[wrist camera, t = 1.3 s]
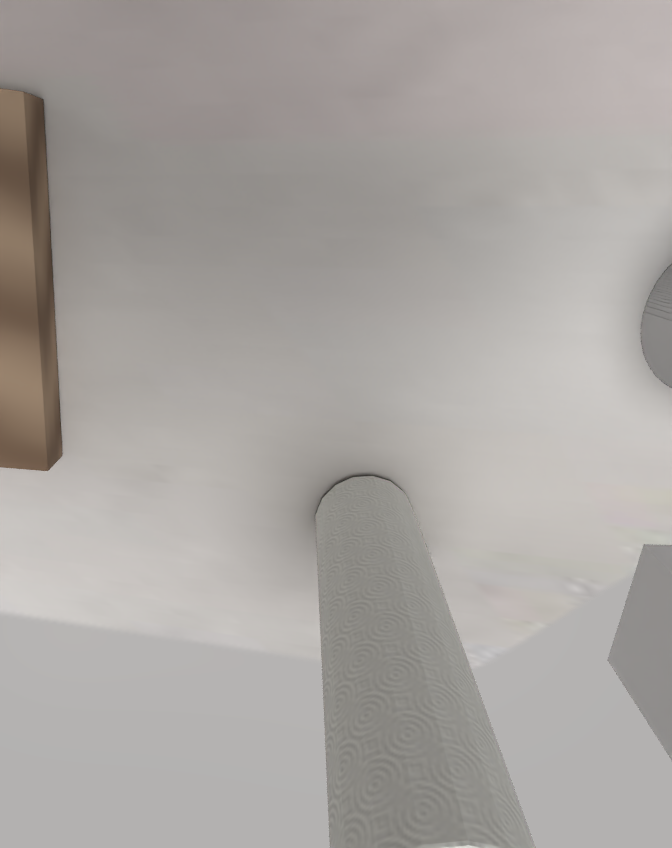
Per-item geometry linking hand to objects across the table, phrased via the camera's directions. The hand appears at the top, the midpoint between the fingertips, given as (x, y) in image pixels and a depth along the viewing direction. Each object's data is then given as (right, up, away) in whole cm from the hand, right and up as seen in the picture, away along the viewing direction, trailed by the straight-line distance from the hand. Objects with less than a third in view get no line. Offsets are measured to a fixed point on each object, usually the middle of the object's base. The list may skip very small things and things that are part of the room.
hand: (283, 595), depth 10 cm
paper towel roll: (+3, -3, +25) cm, 26 cm away
